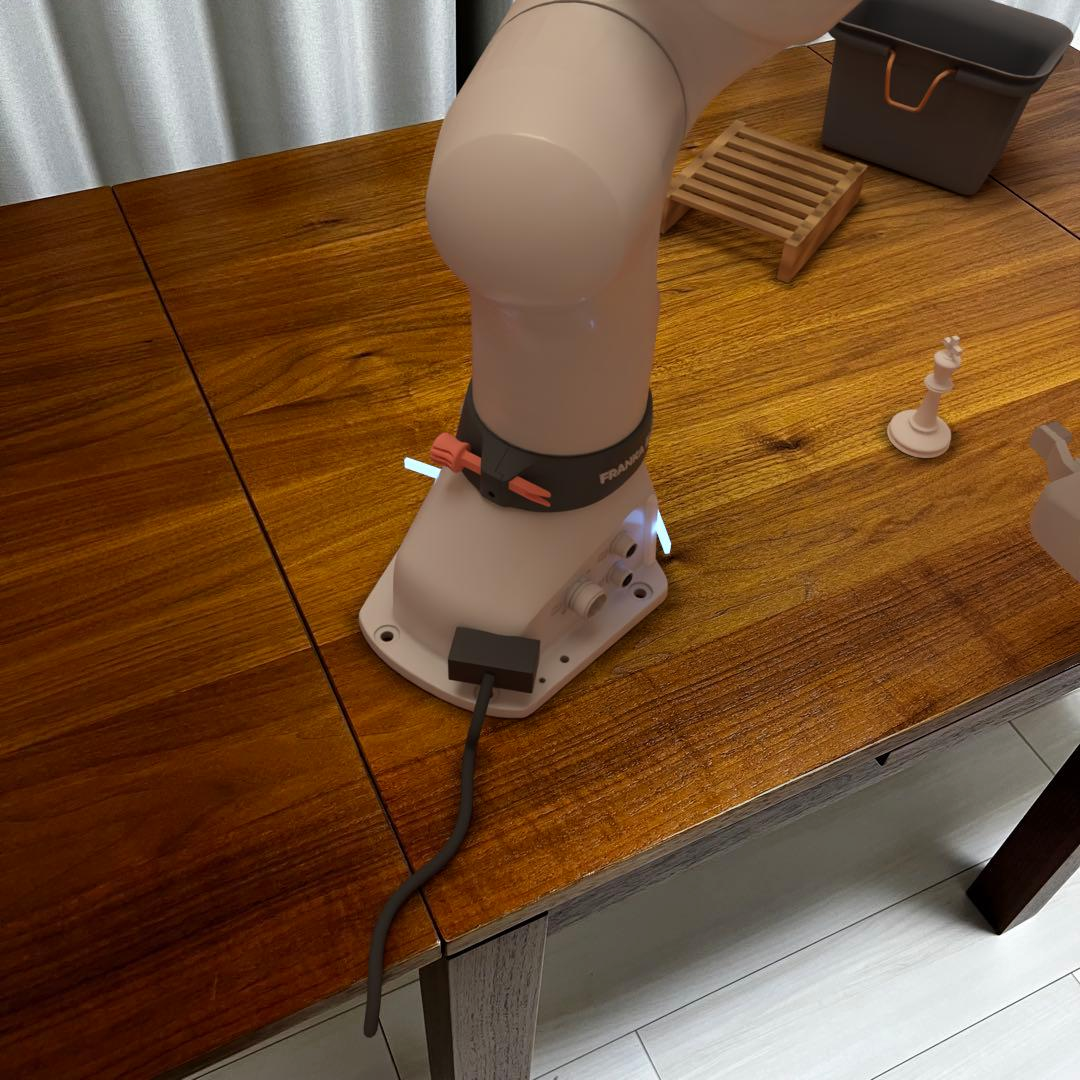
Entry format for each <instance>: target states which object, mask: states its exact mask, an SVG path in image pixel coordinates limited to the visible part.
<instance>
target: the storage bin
mask: <svg viewBox="0 0 1080 1080" xmlns="http://www.w3.org/2000/svg"><path fill="white" fill-rule="evenodd" d="M827 34H828V35H829V36H830V37H831V38H833V39H834V40H835V41H834V42H835V43H834V49H833V55H832V56H833V57H832V62H831V63H832V64H831V70H830V77H829V82H828V83H829V84H828V90H827V97H826V102H825V110H824V116H823V122H822V130H821V136H820V141H821V143H822V144H823V145H824V146H826V147H827V148H830V149H833V150H836V151H838V152H841V153H844V154H847V155H850V156H853V157H855V158H858V159H862V160H864V161H867V162H871V163H874V164H876V165H879V166H881V167H884V168H888V169H890V170H893V171H896V172H899V173H902V174H905V175H908V176H910V177H913V178H916V179H917V180H921V181H924V182H926V183H930V184H932V185H935V186H937V187H941V188H943V189H946V190H949V191H951V192H954V193H957V194H960V195H963V196H972V195H975V194H976V193H977V192H978V191H979V190H980V188H981V187H982V185H983V184H984V182H985V181H986V179H987V178H988V176H989V175H990V173H991V172H992V171H993V170H994V168H995V167H996V166H997V164H998V163H999V161H1000V159H1001V157H1002V155H1003V153H1004V151H1005V150H1006V147H1007V145H1008V143H1009V141H1010V140H1011V137H1012V135H1013V133H1014V131H1015V129H1016V127H1017V125H1018V123H1019V120H1020V119H1021V117H1022V115H1023V113H1024V110H1025V109H1026V106H1027V104H1028V103H1029V101H1030V99H1031V97H1032V96H1033V95H1034V94H1036V93H1038V92H1039V91H1040V90H1041V89H1042V87H1043V86H1044V84H1045V83H1046V82H1047V80H1048V79H1049V78H1050V77H1051V75H1052V74H1053V72H1054V71H1055V70H1056V69H1057V67H1058V66H1059V65H1060V63H1061V62H1062V60H1063V58H1064V55H1065V52H1066V51H1067V49H1069V47H1070V45H1071V44H1072V42H1073V40H1074V38H1075V37H1074V32H1073V31H1072V29H1070V27H1068V26H1067V25H1066V24H1064V23H1062V22H1060V21H1057V20H1055V19H1052V18H1049V17H1047V16H1043V15H1039V14H1036V13H1033V12H1030V11H1027V10H1024V9H1021V8H1019V7H1018V8H1017V7H1014V6H1011V5H1008V4H1004V3H1001V2H998V1H995V0H863V1H861V2H860V3H859V4H858V5H857V6H856V7H855V8H854V9H853V10H851V11H850V12H849V13H848V14H847V15H846V16H845V17H844V18H843V19H842V20H841V21H839V22H838V23H837V24H836V25H835V26H834V27H833V28H832V29H831V30H830V31H829V32H827Z"/></svg>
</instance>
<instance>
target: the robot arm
mask: <svg viewBox="0 0 1080 1080" xmlns="http://www.w3.org/2000/svg"><path fill="white" fill-rule="evenodd" d="M861 1H863V0H514V2H513V3H512V4H511V7H510V8H509V10H508V11H507V13H506V15H505V16H504V18H503V19H502V21H501V23H500V25H499V26H498V27H497V29H496V31H495V33H494V34H493V36H492V37H491V39H490V41H489V43H488V44H487V46H486V47H485V49H484V50H483V52H482V54H481V55H480V56H479V59H478V61H476V64H475V65H474V67H473V69H472V70H471V72H470V74H469V75H468V77H467V79H466V80H465V82H464V84H463V85H462V87H461V88H460V90H459V92H458V94H457V95H456V96H455V98H454V100H453V101H452V102H451V105H450V106H449V108H448V110H447V111H446V112H445V113H446V114H445V116H444V118H443V120H442V123H441V126H440V130H439V134H438V137H437V141H436V145H435V149H434V153H433V158H432V161H431V166H430V170H429V176H428V182H427V187H426V195H425V203H424V205H425V219H426V225H427V229H428V232H429V236H430V239H431V241H432V243H433V246H434V247H435V249H436V252H437V253H438V255H439V256H440V258H441V259H442V261H443V263H444V264H445V265H446V266H447V268H448V269H449V270H450V271H451V272H452V274H453V275H455V277H456V278H457V279H458V280H459V281H460V282H461V283H463V284H464V285H465V286H466V287H467V291H468V295H469V301H470V302H469V303H470V315H471V320H470V321H471V322H470V323H471V326H470V327H471V373H472V374H471V377H470V380H469V381H468V385H467V389H466V392H465V396H464V397H463V402H461V406H460V410H459V414H458V415H459V416H460V417H459V421H458V424H457V428H456V429H457V430H456V433H455V436H453V435H452V434H450V433H448V432H441V433H440V434H439V435H438V436H437V437H436V438H435V439H434V441H433V443H432V446H431V448H430V451H429V458H430V461H431V462H433V463H434V464H436V465H439V466H442V467H440V468H438V467H435V466H433V465H431V464H427V463H424V462H421V461H418V460H415V459H413V458H410V457H405V458H404V468H405V469H408V470H411V471H414V472H417V473H419V474H423V475H425V476H428V477H431V478H434V481H433V483H432V485H431V487H430V489H429V491H428V492H427V494H426V496H425V499H424V500H423V502H422V504H421V506H420V508H419V510H418V512H417V513H416V515H415V517H414V519H413V521H412V523H411V525H410V527H409V529H408V531H407V532H406V535H405V536H404V539H403V541H402V542H401V544H400V546H399V548H397V549H398V550H397V551H396V553H395V554H394V556H393V557H392V558H391V560H390V562H389V563H388V564H387V567H386V569H385V570H384V572H383V573H382V574H381V576H380V578H379V579H378V581H377V582H376V584H375V585H374V587H373V589H372V590H371V592H370V593H369V595H368V596H367V598H366V599H365V602H364V603H363V605H362V606H361V608H360V610H359V613H358V626H359V628H360V631H361V633H362V635H363V638H364V639H365V640H366V642H367V644H368V645H369V647H370V648H371V649H372V650H373V652H374V653H375V654H376V655H377V656H378V657H379V658H380V659H381V660H382V661H383V662H384V663H385V664H387V666H389V667H390V668H391V669H393V670H394V671H395V672H396V673H398V674H399V675H400V676H402V677H403V678H405V679H406V680H408V681H409V682H411V683H413V684H414V685H415V686H417V687H419V688H420V689H422V690H424V691H425V692H427V693H430V694H432V695H433V696H434V697H437V698H438V699H441V700H442V701H445V702H447V703H449V704H451V705H454V706H456V707H459V708H462V709H464V710H467V711H470V712H472V716H471V720H470V723H469V727H468V731H467V733H466V734H467V735H466V738H465V744H464V750H463V755H462V761H461V775H460V803H459V811H458V815H457V820H456V823H455V826H454V828H453V830H452V833H451V835H450V837H449V838H448V840H447V842H446V843H445V845H444V846H443V847H442V849H441V850H439V852H438V853H437V854H436V855H435V856H434V857H433V858H431V859H430V860H429V861H428V862H427V863H426V864H424V865H423V866H421V867H420V868H419V869H418V870H416V871H415V872H414V873H413V874H412V875H411V876H409V877H408V878H407V879H406V880H405V881H404V882H402V884H400V885H399V887H398V888H396V890H395V891H394V892H393V893H392V895H391V896H390V897H389V899H387V901H386V903H385V905H384V906H383V908H382V910H381V912H380V914H379V916H378V919H377V921H376V924H375V927H374V930H373V933H372V936H371V940H370V946H369V953H368V968H367V990H366V992H367V993H366V1005H365V1013H364V1019H363V1020H364V1022H363V1028H362V1029H363V1036H365V1038H366V1039H367V1038H368V1039H372V1038H373V1037H375V1036H376V1034H377V1032H378V1030H379V1022H380V1013H381V1004H382V989H383V960H384V949H385V944H386V939H387V933H388V932H389V928H390V925H391V923H392V920H393V918H394V916H395V915H396V914H397V911H398V910H399V908H400V907H401V905H402V904H403V903H404V902H405V901H406V900H407V898H408V897H409V896H411V894H412V893H414V892H415V891H416V890H417V889H418V888H419V887H421V886H422V885H423V884H424V883H426V882H427V881H428V880H429V879H430V878H432V877H434V875H435V874H436V873H438V872H439V871H440V870H441V869H442V868H443V867H444V866H446V865H447V863H448V862H449V861H450V860H451V859H452V858H453V856H455V854H456V853H457V851H458V850H459V848H460V846H461V844H462V843H463V841H464V839H465V836H466V833H467V831H468V828H469V825H470V823H471V818H472V813H473V806H474V805H473V804H474V775H475V774H474V773H475V762H476V756H477V750H478V744H479V741H480V737H481V734H482V730H483V727H484V726H483V725H484V722H485V717H486V716H487V717H488V716H489V717H495V718H501V719H502V718H503V719H505V718H506V719H523V718H526V717H529V716H530V715H531V714H533V713H534V712H535V711H537V710H538V709H539V708H540V707H542V706H543V705H544V704H546V702H548V701H549V700H550V699H551V698H552V697H554V695H556V694H557V693H558V692H559V691H560V690H562V689H563V688H564V687H565V686H566V685H568V684H569V683H570V682H571V681H572V680H573V679H575V678H576V677H577V676H578V675H580V673H581V672H583V671H584V670H585V669H586V668H587V667H589V666H590V665H591V664H592V663H593V662H595V661H596V660H597V659H598V658H599V657H600V656H601V655H603V654H604V653H605V652H606V651H607V650H609V649H610V648H611V647H612V646H613V645H614V644H616V643H617V642H618V641H619V640H620V639H621V638H623V637H624V636H625V635H626V634H627V633H629V632H630V630H632V629H633V628H634V627H635V626H637V625H638V624H639V623H640V622H642V620H644V619H645V618H646V617H648V615H649V614H651V613H652V612H653V611H654V610H655V609H656V608H658V607H659V606H660V605H661V604H662V603H664V601H665V600H667V597H668V594H669V584H668V582H669V581H668V578H667V576H666V574H665V572H664V570H663V569H662V566H661V565H660V564H659V562H658V560H657V558H656V556H657V555H656V553H657V541H658V540H657V539H658V538H659V541H660V544H661V546H662V549H663V552H664V554H666V555H667V554H670V551H671V545H672V543H671V540H670V537H669V535H668V531H667V529H666V526H665V523H664V521H663V518H662V516H661V513H660V511H659V499H658V495H657V493H656V490H655V487H654V484H653V482H652V479H651V476H650V473H649V469H648V466H647V462H646V456H647V453H648V449H649V445H650V441H651V436H652V433H653V427H654V399H653V398H654V397H653V392H652V390H651V387H650V384H651V377H652V370H653V363H654V356H655V350H656V342H657V333H658V327H659V321H660V320H659V319H660V313H661V307H662V303H661V302H662V299H661V294H660V290H659V288H658V287H659V286H658V262H659V261H658V260H659V246H660V245H659V244H660V235H661V233H660V226H661V220H662V214H663V208H664V204H665V200H666V196H667V192H668V188H669V184H670V181H671V180H672V176H673V173H674V170H675V166H676V162H677V159H678V155H679V153H680V151H681V149H682V146H683V144H684V142H685V140H686V138H687V137H688V135H689V133H690V132H691V130H692V129H693V127H694V125H695V124H696V122H697V121H698V119H699V118H700V116H701V115H702V114H703V113H704V111H705V110H706V109H707V107H708V106H709V105H710V104H711V103H712V102H713V100H714V99H715V98H716V97H718V95H719V94H721V92H723V91H724V90H725V89H726V88H727V87H728V86H730V85H731V84H732V83H734V82H735V81H737V80H738V79H740V78H741V77H742V76H743V75H745V74H747V73H748V72H750V71H751V70H753V69H755V68H756V67H757V66H759V65H761V64H762V63H764V62H766V61H768V60H769V59H771V58H773V57H774V56H776V55H777V54H779V53H781V52H782V51H785V50H786V49H788V48H791V47H792V46H803V45H808V44H810V43H813V42H814V41H816V40H818V39H820V38H822V37H824V36H825V35H827V34H828V32H829V31H830V30H831V29H832V28H833V27H834V26H835V25H836V24H837V23H838V22H839V21H841V20H842V19H843V18H844V17H845V16H846V15H847V14H848V13H849V12H850V11H851V10H853V9H854V8H855V7H856V6H857V5H858V4H859V3H860V2H861ZM1073 437H1074V434H1073V433H1072V432H1071V431H1070V430H1069V429H1068V428H1066V427H1063V426H1062V423H1061V422H1059V421H1058V420H1051V421H1049V422H1047V423H1045V424H1041V425H1039V426H1037V427H1035V428H1034V429H1033V431H1032V433H1031V435H1030V437H1029V440H1028V444H1029V447H1030V448H1031V449H1032V450H1033V451H1034V452H1035V454H1037V455H1038V456H1039V457H1040V458H1041V459H1043V460H1044V462H1045V467H1046V470H1047V475H1048V478H1049V483H1047V484H1046V485H1045V486H1044V488H1043V489H1042V490H1041V492H1040V494H1039V496H1038V498H1037V499H1036V502H1035V503H1034V506H1033V508H1032V510H1031V513H1030V515H1029V530H1030V534H1031V536H1032V538H1033V540H1034V541H1035V542H1036V543H1037V544H1038V545H1039V547H1040V548H1041V549H1042V550H1044V552H1045V553H1047V555H1048V556H1049V557H1050V558H1051V559H1052V560H1054V561H1055V563H1056V564H1057V565H1058V566H1060V568H1062V569H1063V570H1064V571H1065V572H1066V573H1067V574H1068V575H1070V576H1071V577H1072V578H1073V579H1074V580H1076V581H1077V582H1078V583H1079V584H1080V456H1079V457H1075V458H1073V456H1072V454H1071V452H1070V449H1069V446H1068V445H1069V444H1070V443H1071V441H1072V439H1073ZM657 535H658V536H657ZM637 596H641V598H640V597H637ZM385 639H391V640H388V641H385Z"/></svg>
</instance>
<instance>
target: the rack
mask: <svg viewBox="0 0 1080 1080" xmlns="http://www.w3.org/2000/svg"><path fill="white" fill-rule="evenodd" d="M868 167H869V165H867V164H865V163H861V162H858V161H857V162H855V163H854V164H853V163H850V162H848V161H845V160H842V159H839V158H837V157H834V156H830V155H829V154H825V153H823V152H819V151H817V150H815V149H814V150H813V149H811V148H808V147H804V146H803V145H799V144H796V143H793V142H790V141H788V140H784V139H782V138H780V137H777V136H774V135H771V134H768V133H765V132H761V131H759V130H756V129H754V128H751V127H748V123H747V122H744V121H742V120H739V119H735V120H734V121H733V122H732V123H731V124H730V125H729V126H728V127H727V128H726V129H724V131H723V132H722V133H720V134H719V135H718V136H717V137H716V138H715V139H714V140H713V141H712V142H711V143H710V144H708V145H707V147H705V148H704V149H703V150H702V151H701V152H700V153H699V154H698V155H697V156H695V157H694V158H693V159H692V160H691V161H690V162H689V163H688V164H687V165H686V166H685V167H684V168H683V169H682V170H681V171H680V172H679V173H677V174H676V175H675V176H674V177H673V178H671V180H670V184H669V188H668V192H667V196H666V200H665V204H664V208H663V214H662V220H661V226H660V235H665V234H666V233H667V232H668V231H669V230H670V229H671V228H672V227H674V225H675V224H676V223H677V222H678V221H679V220H680V219H681V218H682V217H683V216H684V215H685V214H686V213H687V212H689V211H690V209H691V208H692V209H694V210H697V211H700V212H703V213H705V214H708V215H711V216H713V217H716V218H719V219H721V220H724V221H726V222H728V223H731V224H734V225H737V226H739V227H741V228H744V229H747V230H750V231H753V232H755V233H758V234H760V235H763V236H766V237H768V238H771V239H772V240H775V241H779V242H781V243H784V244H783V249H782V253H781V256H780V262H779V266H778V271H777V275H776V280H778V281H781V282H783V283H786V284H789V283H790V282H791V281H792V280H793V279H794V278H795V276H796V275H797V274H798V273H799V271H800V270H802V268H803V267H804V266H805V265H806V264H807V262H808V261H809V260H810V259H811V257H813V256H814V254H816V252H817V251H818V249H819V248H820V247H821V246H822V245H823V243H824V242H825V241H826V240H827V239H828V238H829V237H830V236H831V235H832V233H833V232H835V231H834V230H836V228H837V227H839V225H840V224H841V223H842V221H843V220H844V219H845V218H846V217H847V216H848V214H849V213H850V212H851V211H852V210H853V209H854V208H855V206H856V205H857V204H858V203H859V201H860V196H861V193H862V189H863V186H864V182H865V178H866V176H867V175H866V174H867V171H868ZM704 197H705V198H704ZM707 198H708V199H707ZM718 202H719V203H718ZM739 210H740V211H739ZM786 228H787V229H786Z"/></svg>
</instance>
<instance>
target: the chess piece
mask: <svg viewBox="0 0 1080 1080" xmlns="http://www.w3.org/2000/svg"><path fill="white" fill-rule="evenodd" d="M960 340H961V338H960V337H959V336H958V335H957V334H956V335H953V336H951V337H949V336H948V337H946V336H945V337H944V338H943V340H942V342H941V343H942V344H943V345H944V346H945V347H946V349H942V350H937V351H936V352H935V354H934V355H933V372H931V373H929V374H927V375H926V376H925V377H924V380H923V384H924V386H925V388H926V389H928V390H927V392H926V394H925V396H924V398H923V400H922V401H921V402H920V403H921V404H920V405H919V407H918V408H917V409H906V410H902V411H900V412H897V413H896V414H895V415H893V417H892V419H891V420H890V421H889V423H888V424H887V428H886V434H887V438H888V440H889V441H890V443H891V444H892V445H893V446H894V447H895V448H896V449H897V450H899V451H900V452H902V453H904V454H906V455H909V456H911V457H914V458H918V459H919V458H920V459H932V458H936V457H939V456H941V455H944V453H946V452H947V451H948V450H949V447H950V446H951V441H952V432H951V429H950V427H949V425H948V424H947V423H946V422H945V421H944V419H942V418H941V417H940V416H938V412H939V408H940V403H941V399H942V395H943V394H947V393H949V392H951V391H952V390H953V389H954V388H953V387H954V385H953V383H954V381H953V380H952V379H951V378H950V377H952V376H953V374H954V373H955V372H956V371H957V370H958V369H959V368H960V367H961V366H962V358H961V356H962V354H963V352H964V350H963V349H962V348H961V347H960V346H959V343H960Z"/></svg>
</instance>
